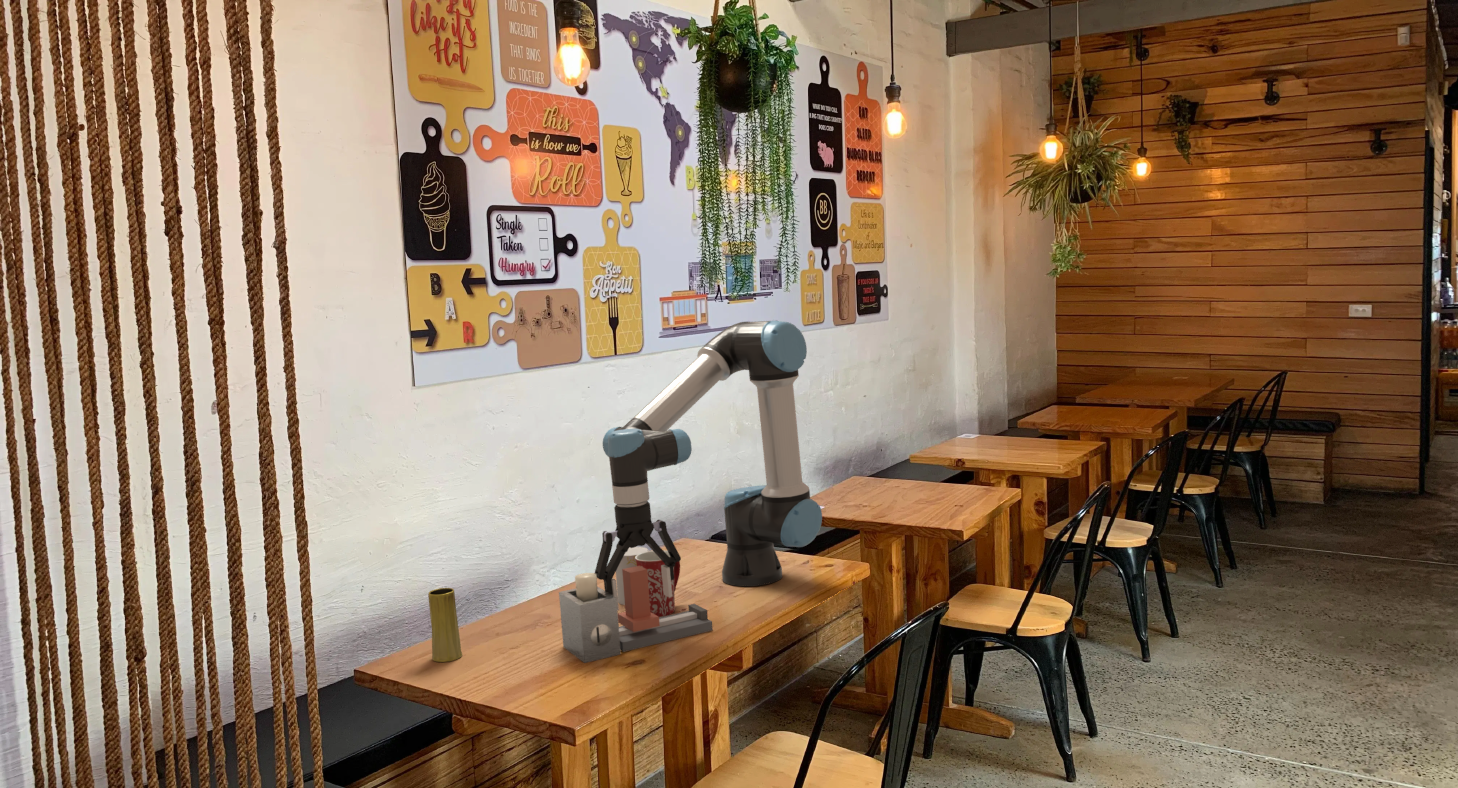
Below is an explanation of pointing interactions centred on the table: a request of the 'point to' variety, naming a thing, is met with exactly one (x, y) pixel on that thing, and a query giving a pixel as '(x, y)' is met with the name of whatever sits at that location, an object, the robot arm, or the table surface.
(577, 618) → the grey box holder
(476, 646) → the table surface
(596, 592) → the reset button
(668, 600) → the mug
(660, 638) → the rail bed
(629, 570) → the carriage
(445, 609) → the vase
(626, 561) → the cup
